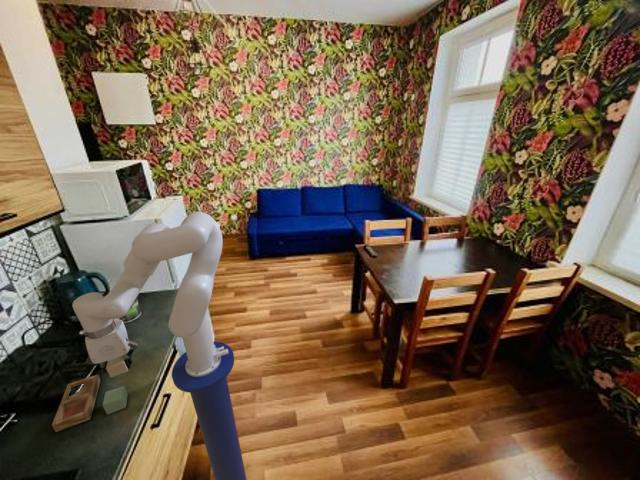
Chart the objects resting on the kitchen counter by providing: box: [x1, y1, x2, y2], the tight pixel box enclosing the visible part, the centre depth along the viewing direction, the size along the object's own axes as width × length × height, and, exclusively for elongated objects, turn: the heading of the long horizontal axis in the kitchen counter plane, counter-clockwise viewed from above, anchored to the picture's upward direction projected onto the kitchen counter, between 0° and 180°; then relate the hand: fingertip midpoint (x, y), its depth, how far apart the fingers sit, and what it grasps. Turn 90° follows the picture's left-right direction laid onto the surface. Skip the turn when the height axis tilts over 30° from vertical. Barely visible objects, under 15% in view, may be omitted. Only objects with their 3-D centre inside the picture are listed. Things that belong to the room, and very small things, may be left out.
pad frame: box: [51, 374, 101, 433], centre depth 87 cm, size 8×16×3 cm, turn 28°
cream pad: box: [106, 356, 129, 378], centre depth 93 cm, size 5×5×4 cm
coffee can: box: [106, 293, 142, 324], centre depth 125 cm, size 10×10×14 cm
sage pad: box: [102, 385, 128, 415], centre depth 86 cm, size 5×5×4 cm
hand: (119, 368), depth 93 cm, fingers closed on cream pad, 5 cm apart
